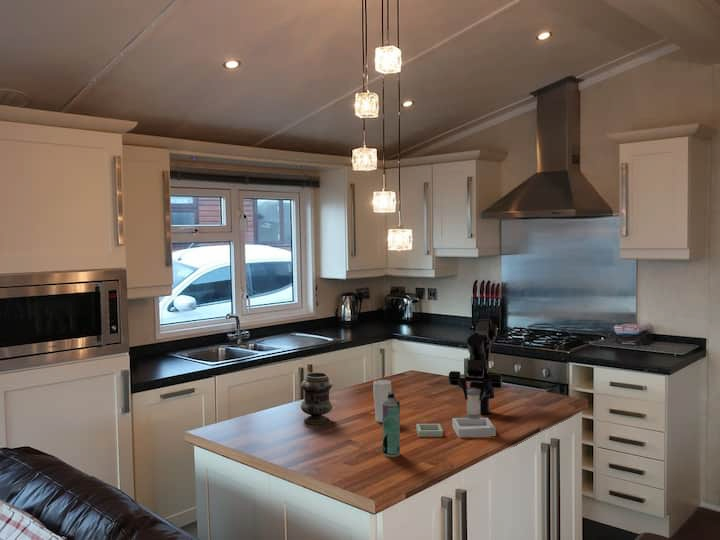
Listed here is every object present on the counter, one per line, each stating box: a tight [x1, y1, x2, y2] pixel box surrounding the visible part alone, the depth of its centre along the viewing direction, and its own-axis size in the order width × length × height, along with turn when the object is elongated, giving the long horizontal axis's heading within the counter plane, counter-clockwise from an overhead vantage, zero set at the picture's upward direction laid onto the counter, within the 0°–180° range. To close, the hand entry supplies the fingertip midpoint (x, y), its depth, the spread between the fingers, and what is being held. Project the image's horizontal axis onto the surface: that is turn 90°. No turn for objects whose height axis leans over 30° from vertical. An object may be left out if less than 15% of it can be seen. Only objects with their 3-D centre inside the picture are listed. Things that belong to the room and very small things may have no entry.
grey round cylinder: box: [466, 387, 482, 419], centre depth 223 cm, size 5×5×10 cm
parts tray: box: [452, 417, 497, 439], centre depth 224 cm, size 13×13×3 cm
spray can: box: [382, 391, 401, 458], centre depth 201 cm, size 6×6×20 cm
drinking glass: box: [372, 379, 392, 424], centre depth 237 cm, size 7×7×15 cm
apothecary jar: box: [300, 371, 333, 426], centre depth 237 cm, size 12×12×18 cm
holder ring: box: [415, 423, 444, 438], centre depth 223 cm, size 8×8×2 cm
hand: (473, 399), depth 222 cm, fingers closed on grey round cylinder, 5 cm apart
